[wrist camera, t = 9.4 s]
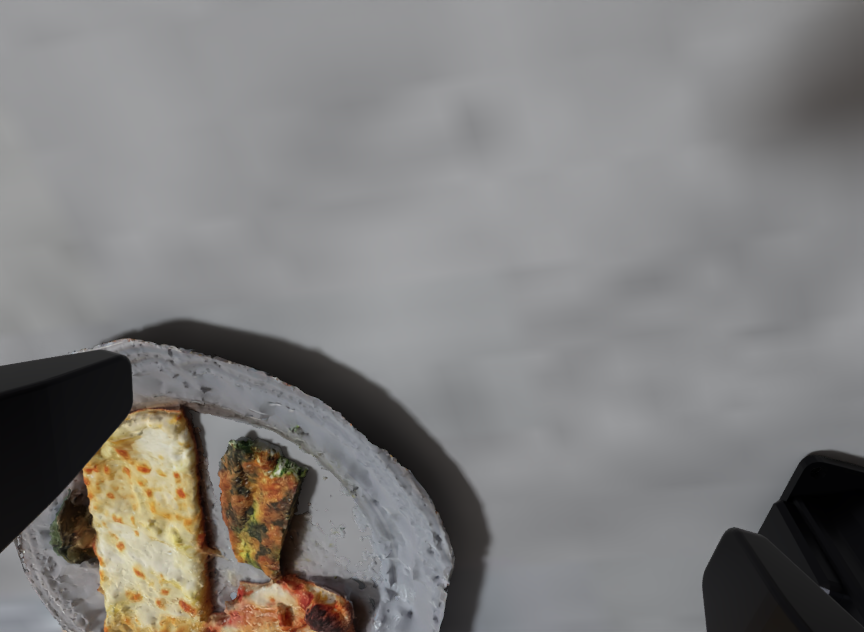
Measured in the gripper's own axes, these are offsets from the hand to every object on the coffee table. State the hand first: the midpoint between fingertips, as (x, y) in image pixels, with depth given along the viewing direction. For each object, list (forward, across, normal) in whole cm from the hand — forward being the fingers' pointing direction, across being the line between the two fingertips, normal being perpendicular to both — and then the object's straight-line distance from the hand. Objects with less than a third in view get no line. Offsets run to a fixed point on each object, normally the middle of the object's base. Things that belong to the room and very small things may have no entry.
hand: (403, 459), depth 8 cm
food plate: (+14, +10, +19) cm, 25 cm away
